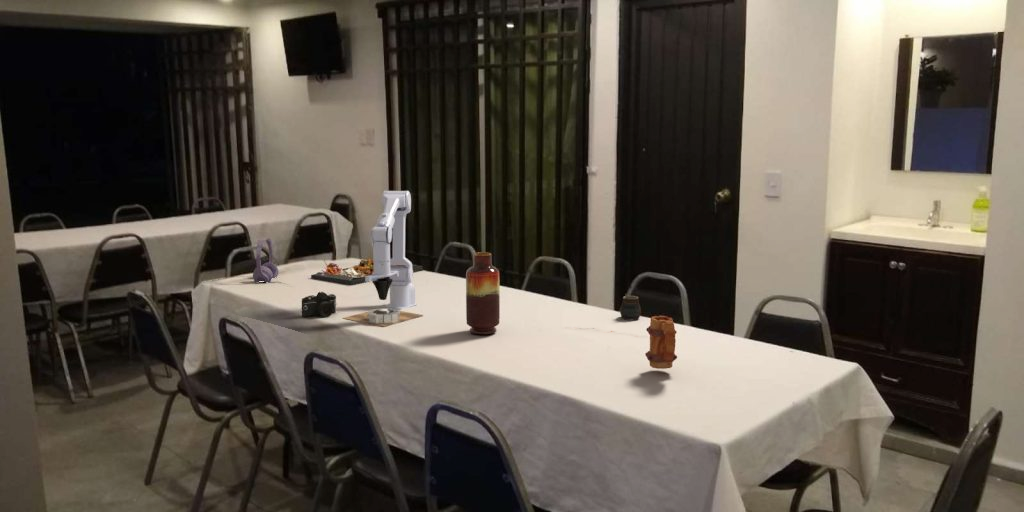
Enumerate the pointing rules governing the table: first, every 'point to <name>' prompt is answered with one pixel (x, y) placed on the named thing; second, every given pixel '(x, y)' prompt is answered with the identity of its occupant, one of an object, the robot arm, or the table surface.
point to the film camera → (319, 305)
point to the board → (363, 319)
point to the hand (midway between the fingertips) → (382, 299)
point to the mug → (661, 342)
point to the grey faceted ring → (383, 316)
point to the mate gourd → (630, 307)
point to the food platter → (351, 273)
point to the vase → (482, 295)
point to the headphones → (266, 269)
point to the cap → (383, 311)
